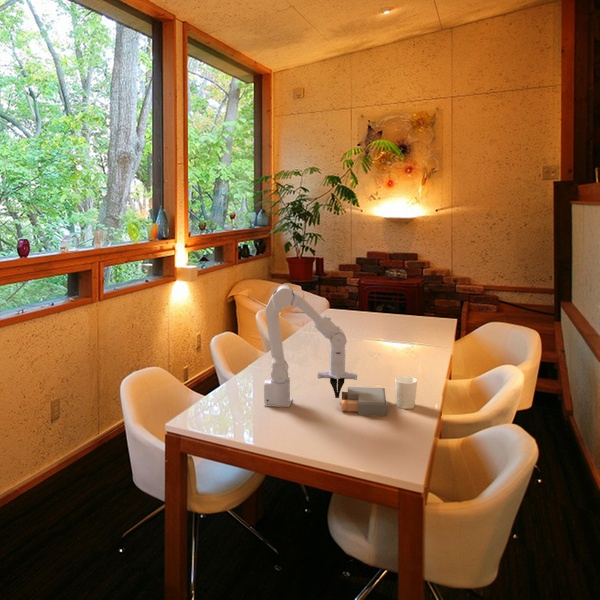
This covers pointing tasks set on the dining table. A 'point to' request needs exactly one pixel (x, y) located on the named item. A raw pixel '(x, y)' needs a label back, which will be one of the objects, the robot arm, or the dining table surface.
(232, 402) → the dining table surface
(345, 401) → the orange knob
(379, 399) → the box
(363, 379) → the dining table surface
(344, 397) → the walnut knob
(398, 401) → the white cup
